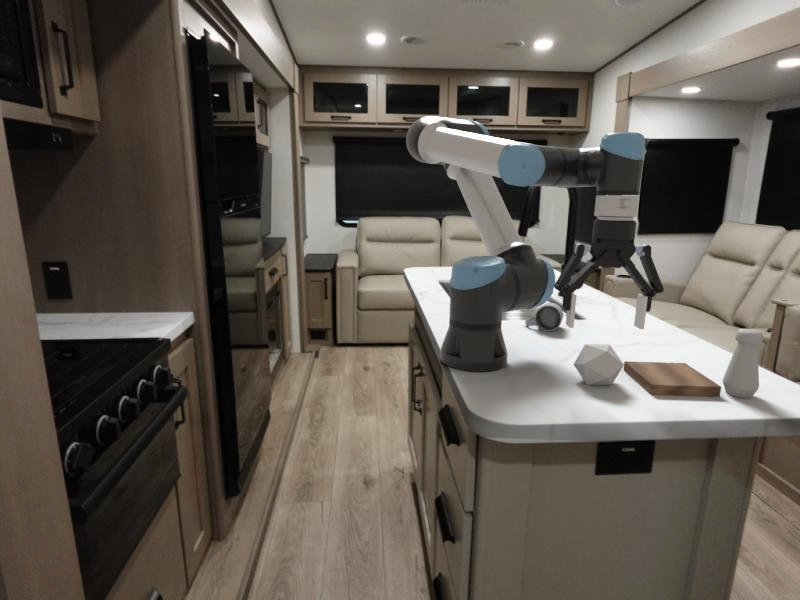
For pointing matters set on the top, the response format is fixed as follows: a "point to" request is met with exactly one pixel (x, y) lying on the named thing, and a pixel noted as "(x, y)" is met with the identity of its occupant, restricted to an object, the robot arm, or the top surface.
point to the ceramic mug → (547, 317)
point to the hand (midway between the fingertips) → (604, 326)
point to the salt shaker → (744, 365)
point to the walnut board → (671, 379)
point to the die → (598, 364)
